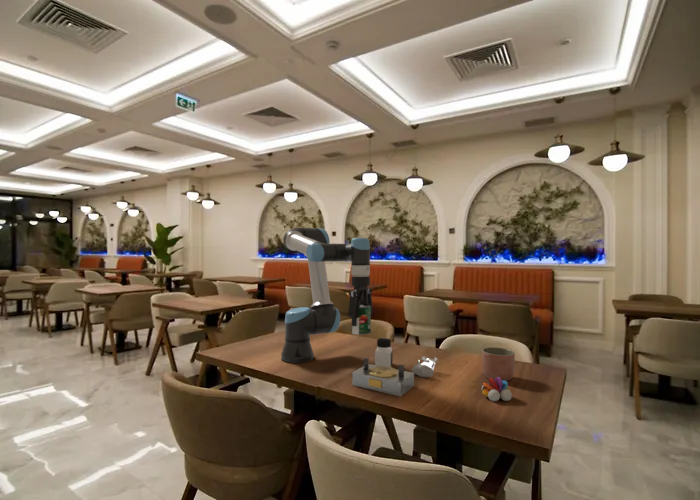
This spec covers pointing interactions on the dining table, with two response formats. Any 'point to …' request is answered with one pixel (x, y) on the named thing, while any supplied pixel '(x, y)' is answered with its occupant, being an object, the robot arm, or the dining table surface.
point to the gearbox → (383, 378)
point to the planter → (498, 363)
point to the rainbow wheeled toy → (496, 390)
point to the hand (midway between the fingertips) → (361, 332)
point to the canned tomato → (364, 319)
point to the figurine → (424, 367)
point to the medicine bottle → (384, 353)
